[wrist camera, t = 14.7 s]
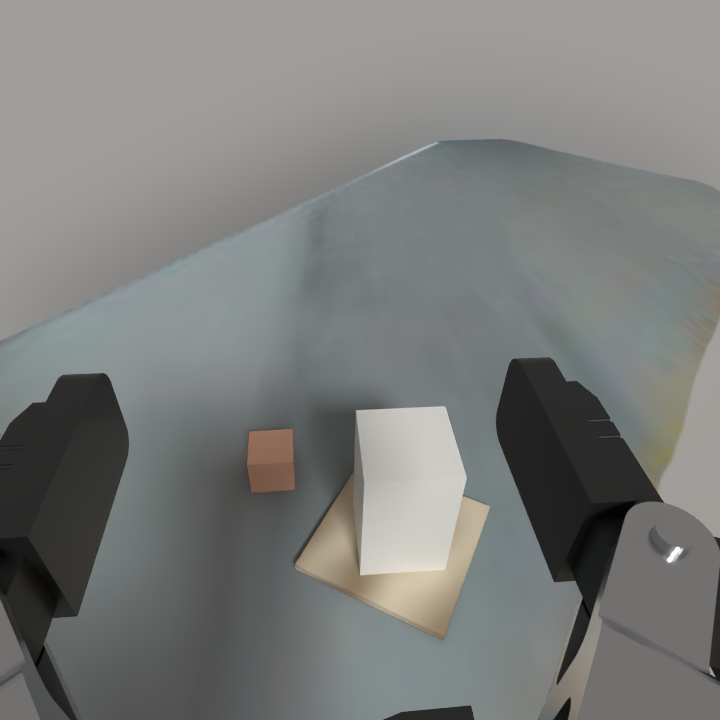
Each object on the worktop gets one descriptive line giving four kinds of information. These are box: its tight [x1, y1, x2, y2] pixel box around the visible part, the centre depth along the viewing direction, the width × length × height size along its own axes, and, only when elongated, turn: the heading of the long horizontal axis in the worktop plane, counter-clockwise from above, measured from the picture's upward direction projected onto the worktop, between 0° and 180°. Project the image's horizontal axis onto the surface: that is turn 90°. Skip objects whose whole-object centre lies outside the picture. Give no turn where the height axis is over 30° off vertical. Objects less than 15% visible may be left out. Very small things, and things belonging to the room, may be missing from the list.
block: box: [247, 429, 295, 493], centre depth 44 cm, size 4×4×4 cm
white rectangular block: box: [353, 406, 467, 575], centre depth 37 cm, size 6×6×10 cm
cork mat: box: [295, 472, 490, 640], centre depth 40 cm, size 11×11×1 cm
